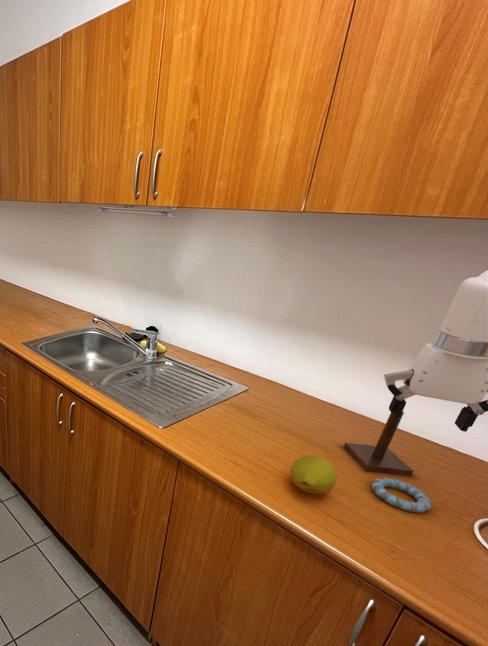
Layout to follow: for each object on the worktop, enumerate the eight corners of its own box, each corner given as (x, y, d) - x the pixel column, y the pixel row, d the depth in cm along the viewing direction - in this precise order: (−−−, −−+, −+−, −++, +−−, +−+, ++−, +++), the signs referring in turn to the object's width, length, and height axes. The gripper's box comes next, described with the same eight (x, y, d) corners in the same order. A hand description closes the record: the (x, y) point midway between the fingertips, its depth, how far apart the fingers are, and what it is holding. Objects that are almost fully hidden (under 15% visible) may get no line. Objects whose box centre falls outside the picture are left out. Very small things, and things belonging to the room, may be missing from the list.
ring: (408, 486, 89) (411, 479, 88) (441, 517, 81) (445, 510, 80) (360, 480, 91) (363, 473, 90) (388, 510, 83) (391, 503, 82)
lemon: (300, 470, 94) (310, 443, 91) (339, 491, 88) (351, 462, 85) (274, 486, 90) (284, 458, 87) (313, 509, 83) (325, 480, 80)
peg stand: (384, 451, 100) (407, 402, 94) (410, 476, 92) (437, 423, 86) (343, 447, 102) (363, 399, 96) (365, 470, 94) (388, 419, 88)
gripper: (522, 345, 73) (478, 423, 79) (395, 330, 81) (365, 401, 87) (547, 361, 67) (498, 444, 73) (408, 342, 75) (375, 418, 82)
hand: (426, 421), depth 80 cm, fingers open, 9 cm apart
